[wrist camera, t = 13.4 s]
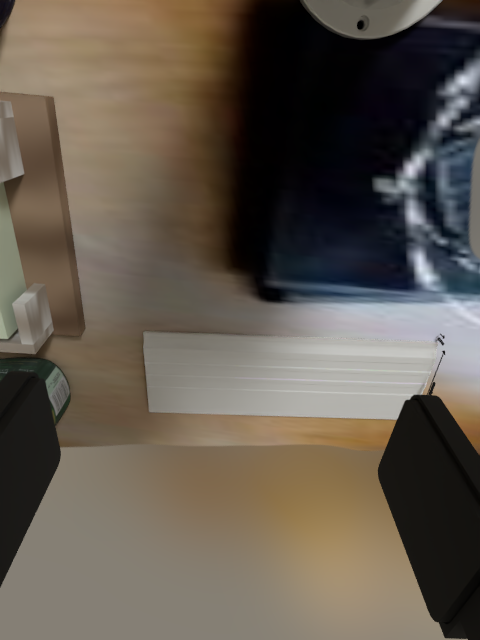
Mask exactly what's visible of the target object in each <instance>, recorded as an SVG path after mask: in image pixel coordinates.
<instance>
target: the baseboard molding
mask: <svg viewBox="0 0 480 640" xmlns="http://www.w3.org/2000/svg"><path fill="white" fill-rule="evenodd" d="M143 336H144V345H143V352H144V360H145V371H146V381H147V394H148V405H149V412H157V413H191V414H225V415H260V416H294V417H328V418H362V419H396V420H397V419H398V417H399V414H400V412H401V409H402V407H403V404H404V402H405V401H406V400H410V398H411V397H412V396H413V395H422V393H423V391H424V388H425V387H426V383H427V380H428V378H429V376H430V374H431V370H432V367H433V365H434V364H435V361H436V349H437V346H438V342H433V341H405V340H378V339H350V338H323V337H295V336H268V335H240V334H212V333H185V332H157V331H144V332H143ZM441 336H442V335H441ZM442 337H443V339H444V336H442ZM439 339H440V338H438V340H439ZM440 340H441V339H440ZM440 340H439V341H440ZM440 342H441V344H442V345H444V343H443V342H442V340H441V341H440ZM442 352H443V354H444V355H445V351H442ZM442 357H443V355H442ZM442 357H441V359H442ZM440 362H441V360H440ZM439 364H440V363H439ZM438 367H439V365H438ZM437 370H438V368H437ZM437 370H436V372H437ZM435 375H436V373H435ZM435 375H434V377H435ZM433 380H434V378H433ZM433 380H432V382H433ZM431 385H432V383H431ZM431 385H430V387H431ZM434 386H435V382H433V385H432V387H431V390H430V388H429V390H430V392H429V391H428V392H429V395H431V394H432V393H433V392H432V391H433V389H434ZM430 393H431V394H430ZM427 395H428V393H427Z"/></svg>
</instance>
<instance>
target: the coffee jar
mask: <svg viewBox="0 0 480 640" xmlns="http://www.w3.org/2000/svg"><path fill="white" fill-rule="evenodd" d="M10 371H22V372H35V373H37V374H38V376H39V378H42V379H44V380H45V382H46V386H47V391H48V396H49V400H50V405H51V409H52V414H53V419H54V423H55V426H56V424H57V423H58V421H59V420H60V418H61V417H62V415H63V413H64V412H65V410H66V408H67V406H68V405H69V402H70V388H69V384H68V381H67V379H66V377H65V375H64V374H63V372H62V371H61V369H60V368H59V367H58V366H56V365H55V364H54V363H52V362H51V361H48V360H45V359H40V358H22V357H20V358H5V359H0V382H1V380H2V379H3V378H4V377H5V376H6V374H7V373H9V372H10Z"/></svg>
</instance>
